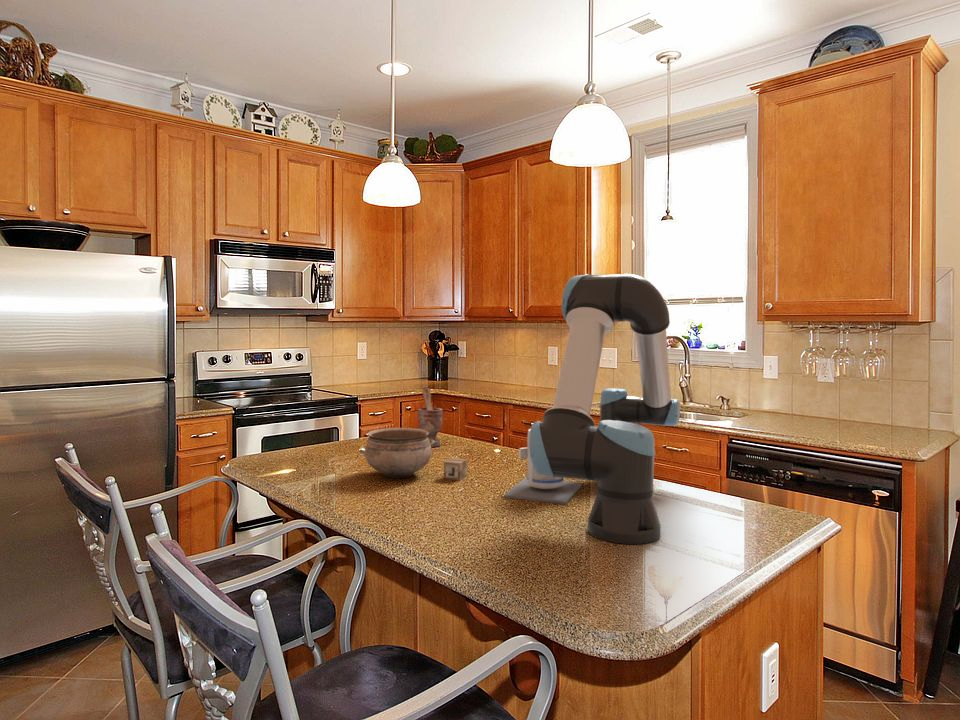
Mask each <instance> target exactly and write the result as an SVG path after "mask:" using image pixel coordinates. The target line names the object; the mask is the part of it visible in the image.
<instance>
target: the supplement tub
mask: <svg viewBox="0 0 960 720" xmlns="http://www.w3.org/2000/svg"><path fill="white" fill-rule="evenodd" d="M530 430H531V428H529V429H528V430H527V439H526V440H527V443H526V444H527V445H526V446H527V458H526V461H527V462H526V463H527V464H526V468H527V470H526V477H527V483H528V484H529V485H530V486H532V487H535V488H540V489H553V488H558V487H561V486H562V485H563V481H564V477H553V476H549V475H543V474H540V473H538V472H537V471H536V470H535V469H534V467H533V465H532V462H531V457H530V449H529V437H530Z"/></svg>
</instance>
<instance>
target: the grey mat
mask: <svg viewBox="0 0 960 720" xmlns="http://www.w3.org/2000/svg"><path fill="white" fill-rule="evenodd" d="M582 486H583V482H576V481H568V480H567V481H566V480H563V485H562V486H561V487H558V488H553V489H540V488H535V487H532V486H530V485H529V484H528V483H527V476H526V477H524V478H523V479H522V480H521V481H519V482H518V483H517V484H516V485H514V486H512V488H511V489H510V490H509V491H507V492H506V493H505V494H503V498H507V499H517V500H525V501H533V502H540V503H541V502H542V503H550V504H560V505H568V503H569V502H570V501H571V499H572V498H573V497H574V496H575V494H577V492H578V491H579V490H580V488H581V487H582Z"/></svg>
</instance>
